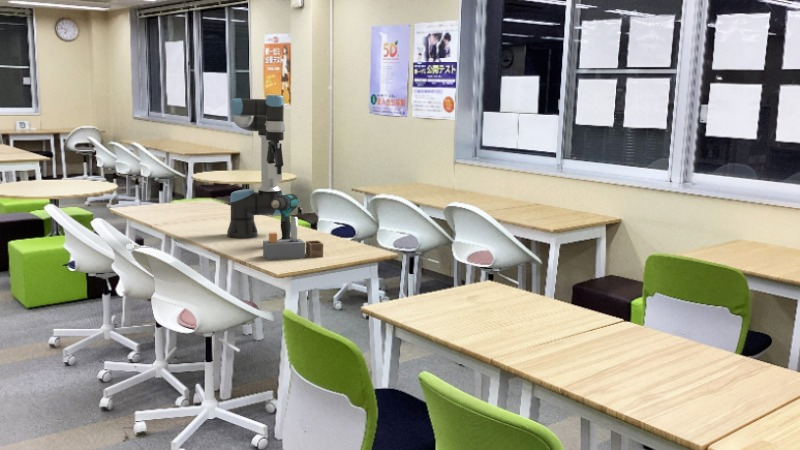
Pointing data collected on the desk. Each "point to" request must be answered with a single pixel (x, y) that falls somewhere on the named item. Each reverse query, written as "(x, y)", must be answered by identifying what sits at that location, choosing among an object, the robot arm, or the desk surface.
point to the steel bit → (293, 229)
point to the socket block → (284, 249)
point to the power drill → (285, 211)
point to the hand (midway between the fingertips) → (274, 180)
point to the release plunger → (273, 237)
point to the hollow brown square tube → (314, 248)
